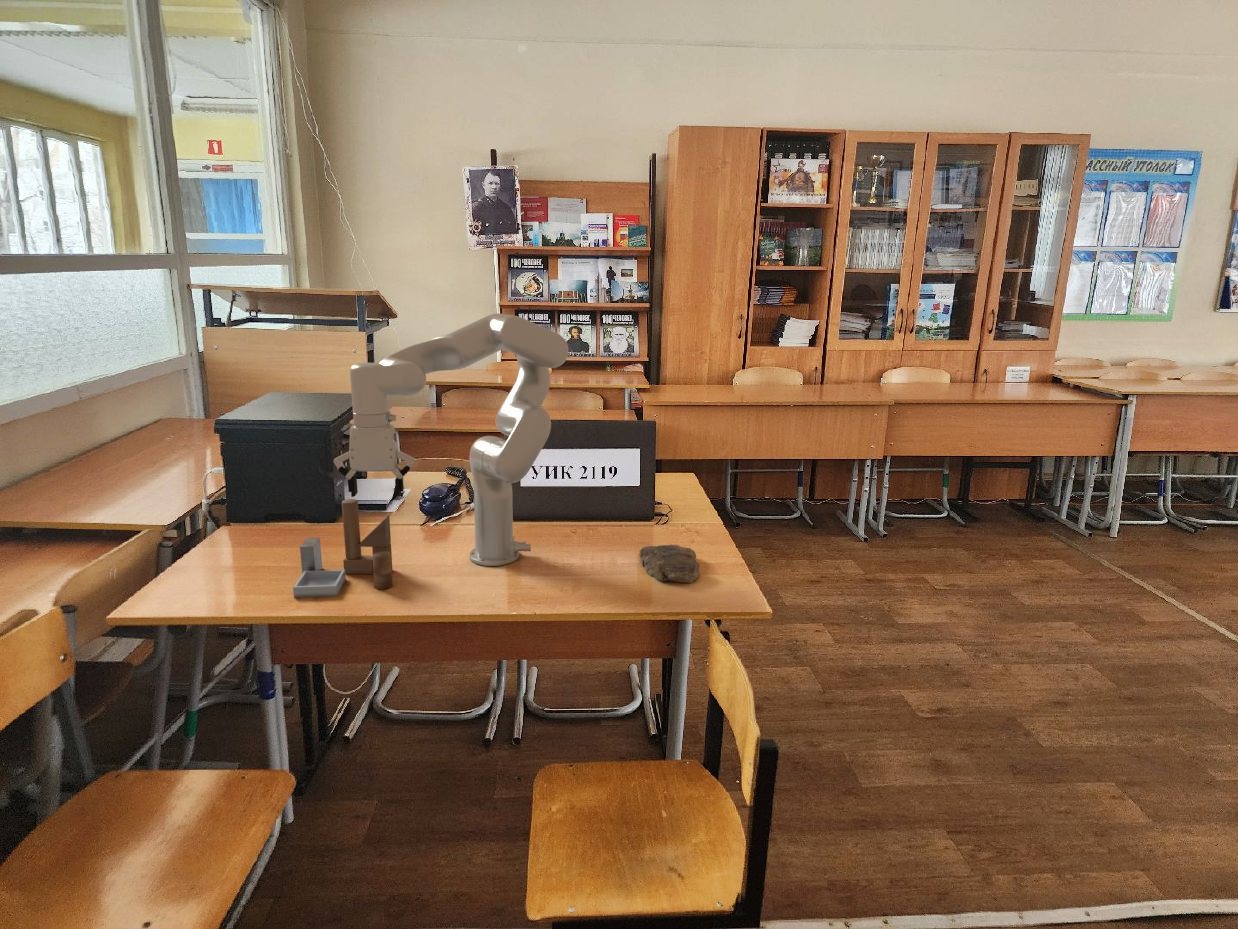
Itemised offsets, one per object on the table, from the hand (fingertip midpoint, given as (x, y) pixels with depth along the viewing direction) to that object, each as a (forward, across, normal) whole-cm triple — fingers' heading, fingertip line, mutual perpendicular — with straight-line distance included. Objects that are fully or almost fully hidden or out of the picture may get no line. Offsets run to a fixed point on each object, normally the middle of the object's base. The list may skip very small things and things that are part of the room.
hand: (376, 494), depth 168 cm
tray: (+22, +14, 0) cm, 26 cm away
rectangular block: (+22, +18, -8) cm, 30 cm away
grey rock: (+23, -69, -4) cm, 73 cm away
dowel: (+22, 0, 0) cm, 22 cm away
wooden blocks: (+22, +5, -9) cm, 25 cm away
